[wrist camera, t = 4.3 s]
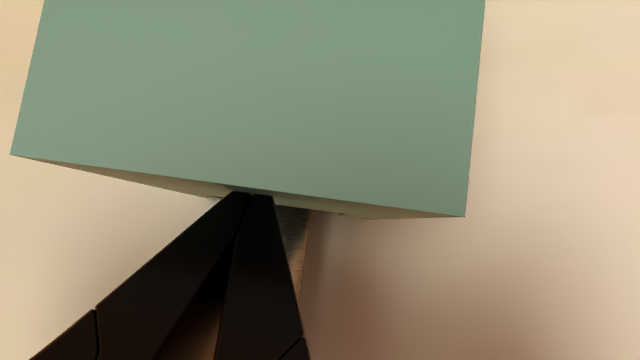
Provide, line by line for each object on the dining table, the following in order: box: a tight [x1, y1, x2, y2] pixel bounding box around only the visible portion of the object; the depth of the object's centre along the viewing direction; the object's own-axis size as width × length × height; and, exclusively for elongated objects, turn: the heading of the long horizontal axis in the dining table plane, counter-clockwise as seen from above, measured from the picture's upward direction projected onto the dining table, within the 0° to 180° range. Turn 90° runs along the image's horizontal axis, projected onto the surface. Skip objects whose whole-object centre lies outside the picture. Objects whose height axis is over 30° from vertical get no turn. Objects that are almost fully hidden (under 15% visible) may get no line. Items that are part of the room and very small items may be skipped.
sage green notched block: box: [10, 0, 485, 219], centre depth 11 cm, size 8×7×10 cm
